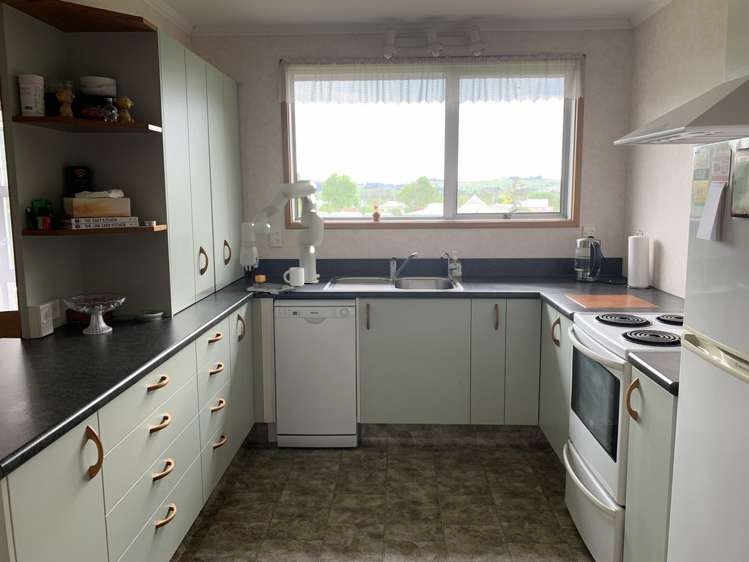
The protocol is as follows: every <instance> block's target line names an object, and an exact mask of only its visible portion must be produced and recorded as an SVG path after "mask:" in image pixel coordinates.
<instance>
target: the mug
mask: <svg viewBox="0 0 749 562" xmlns="http://www.w3.org/2000/svg"><path fill="white" fill-rule="evenodd" d="M288 274H289V280H288V279H287V275H288ZM283 279H284V282H285V283H286V284H289V286H290V285H291V286H302V287H304V286H305V284H304V268H302V267H300V266H299V267H289V269H288V270H286V271H285V272H284V274H283ZM303 285H304V286H303ZM291 286H290V287H291Z"/></svg>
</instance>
